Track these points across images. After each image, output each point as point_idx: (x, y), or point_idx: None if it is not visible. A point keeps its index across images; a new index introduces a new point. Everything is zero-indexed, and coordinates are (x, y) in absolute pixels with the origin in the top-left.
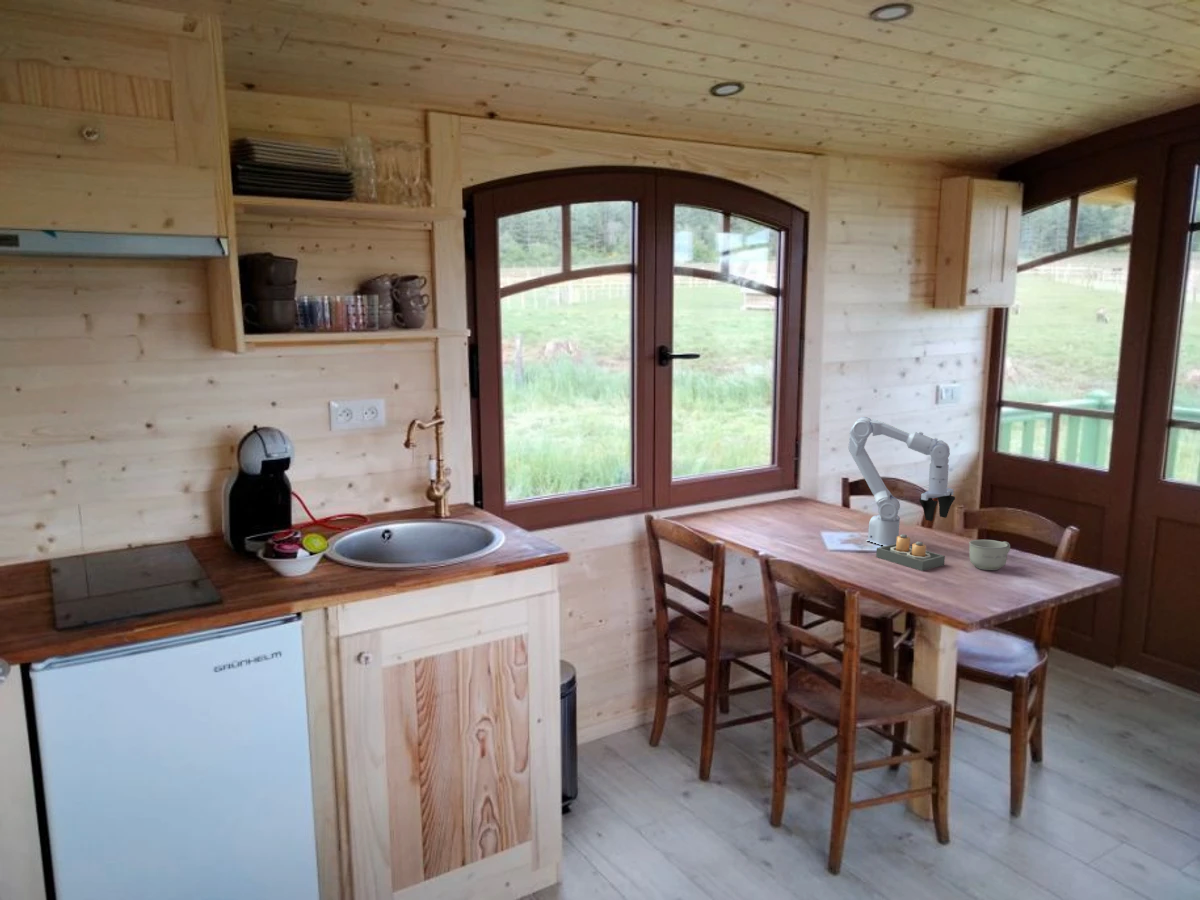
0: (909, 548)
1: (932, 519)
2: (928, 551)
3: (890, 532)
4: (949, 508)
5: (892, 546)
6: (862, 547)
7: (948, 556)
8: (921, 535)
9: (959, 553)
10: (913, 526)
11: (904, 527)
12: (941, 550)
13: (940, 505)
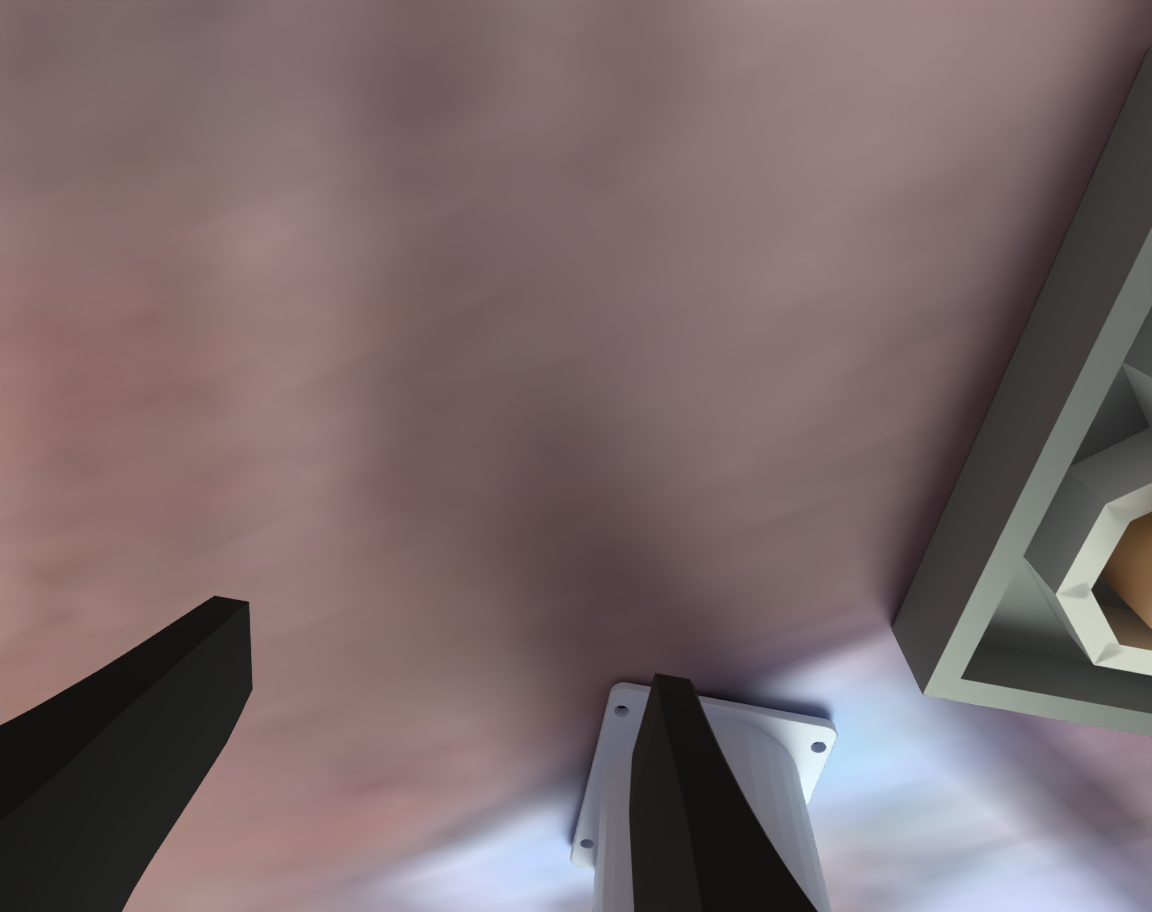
0: (1100, 538)
1: (663, 688)
2: (1114, 322)
3: (805, 858)
4: (52, 699)
5: (1067, 691)
6: (953, 852)
7: (686, 196)
8: None
9: (454, 158)
10: None
11: None
12: (505, 363)
13: (117, 891)
